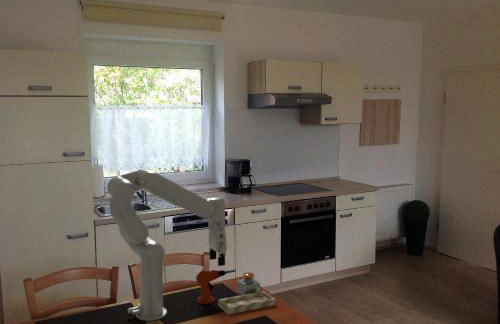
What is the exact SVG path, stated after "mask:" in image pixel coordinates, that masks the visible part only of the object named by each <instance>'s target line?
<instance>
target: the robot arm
mask: <svg viewBox="0 0 500 324" xmlns="http://www.w3.org/2000/svg"><path fill="white" fill-rule="evenodd" d="M141 190H143V191H145V192H147V193H149V194H150V195H154V196H155V197H158V198H159V199H161V200H163V201H165V202H167V203H169V204H172V205H173V206H175V207H179V208H182V209H184V210H186V211H188V212H190V213H192V214H193V215H195V216H197V217H199V218H202V219H207V220H208V222H207V226H208V227H207V229H208V247H209V249H208V251H209V260H210V261H211V260H216V259H217V265H218V267H222V266H223V267H224V266H225V265H226V254H227V253H226V252H227V247H228V246H227V236H226V235H227V234H226V200H225V198H224V197H221V196H213V197H212V196H211V197H208V198H207V197H202V196H200V195H199V194H196V193H195V192H192V191H191V190H188V189H187V188H186V187H184V186H182V185H180V184H178V183H176V182H174V181H173V180H170V179H168V178H167V177H165V176H163V175H161V174H159V173H157V172H155V171H153V170H150V169H147V168H146V169H145V168H144V169H139V170H134V171H131V172H128V173H125V174H124V173H123V174H121V175H117V176H114V177H113V178H111V179H109V181H108V182H107V192H108V194H109V195H110V196H111V197H110V199H109V213H110V215H111V217H112V219H113V221H115V223H116V225H117V226H118V227H119V228H118V231H119V234H120V236H121V237H122V239H123V240H124V241H125V242H126V244H127V245H128V246H129V248H130V250H132V252H133V253H134V254H135V255H136V257H138V258H139V259H140V266H139V273H138V274H139V279H138V280H139V303H137V305H136V306H135V307H128V308H127V313H128V314H132V315H135V317H136V318H137V319H138V320H141V321H145V322H146V321H149V322H152V321H157V320H160V319H163V318H165V317H166V316H167V313H168V311H167V309H166V308H165V307H164V276H163V275H164V262H165V249H164V247H163V245H162V244H161V243H160V242H159V241H157V240H156V239H154V238H153V237H152V236H151V235H150V233H149V230H148V227H147V225H146V223H145V222H144V221H143V220H142V219H141V218H140V215H138V213H137V212H136V210H135V208H134V207H133V205H132V203H133V198H134V195H135V193H136V192H139V191H141ZM217 255H218V257H217Z"/></svg>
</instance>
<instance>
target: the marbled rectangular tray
mask: <svg viewBox="0 0 500 324" xmlns="http://www.w3.org/2000/svg"><path fill="white" fill-rule="evenodd" d="M218 306H219V308H221V310H223V312H225V313H226V314H227V315H231V314H237V313H242V312H246V311H247V312H248V311H251V310H253V311H254V310H257V309H262V308H267V307H271V306H272V307H273V306H276V298H275V297H273V296H272V295H270V294H269V293H268V292H266V291H260V292H257V293H252V294H246V295H235V296H230V297H225V298H219V299H218Z"/></svg>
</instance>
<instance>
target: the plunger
mask: <svg viewBox="0 0 500 324" xmlns="http://www.w3.org/2000/svg"><path fill="white" fill-rule="evenodd" d="M242 275H243V279H245V283H246V284H248V283H252V278H253V279H254V278H255V273H253V272H244V273H243V274H242Z"/></svg>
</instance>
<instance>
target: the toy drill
mask: <svg viewBox="0 0 500 324" xmlns="http://www.w3.org/2000/svg"><path fill="white" fill-rule="evenodd" d="M234 272H236V269H231V270H225V269H224V270H223V269H222V270H215V269H211V270H200V271H199V272H198V273H197V274H196V275H195V276H196V277H195V281H196V282H197V283H198V284H199V285H200V294H199V295H200V296H198V297H197V304H200V305H205V304H207V305H208V303H209V304H213V303H214V302H215V297H213V296H211V291H212V290H213V288H214V287H213V285H212V284H211V282H213V281H215V280H217V279H218V278H221V277H224V276H225V275H226V274H229V273H231V274H232V273H234Z"/></svg>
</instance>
